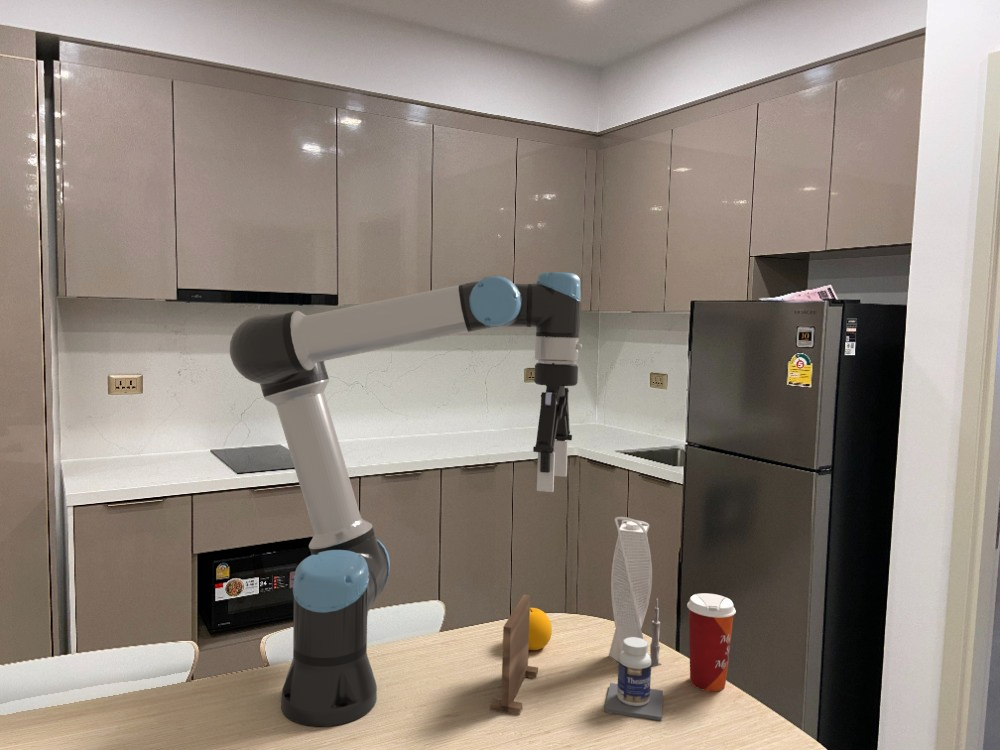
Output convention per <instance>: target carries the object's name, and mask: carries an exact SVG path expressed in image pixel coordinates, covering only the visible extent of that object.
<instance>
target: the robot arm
mask: <svg viewBox="0 0 1000 750" xmlns="http://www.w3.org/2000/svg"><path fill="white" fill-rule="evenodd" d="M581 297H582V296H581V279H580V277H579V275H577V274H575V273H574V272H573V273H571V272H561V271H559V272H558V271H555V272H554V271H551V272H550V271H549V272H548V271H547V272H540V273H539V274H538V276H537V280H536V283H528V284H526V283H513V281H511V280H510V279H508V278H507V277H504V276H499V275H493V276H487V277H484V278H482V279H480V280H477V281H472V282H468V283H464V284H456V285H452V286H448V287H447V286H446V287H442V288H437V289H432V290H428V291H422V292H417V293H414V294H413V293H411V294H408V295H403V296H396V297H392V298H387V299H382V300H378V301H377V300H376V301H372V302H367V303H364V304H363V303H362V304H358V305H354V306H353V305H352V306H349V307H343V308H337V309H334V310H328V311H324V312H318V313H313V314H308V315H306V314H304V313H303V312H301V311H299V310H296V311H291V312H285V313H277V314H257V315H254V316H252V317H249V318H247V319H246V320H244V321H242V322H241V323H240V324H239V325H238V326H237V327H236V328H235V330H234V332H233V333H232V336H231V339H230V342H229V356H230V359H231V362H232V364H233V366H234V367H235V369H236V370H237V372H238V373H239V374H240V375H241V376H243V378H244V379H247V381H250V382H252V383H257V384H258V385H260V388H261V392H262V395H263V399H264V400H266V401H268V402H269V403H271V404H273V405H274V406H275V407H276V410H277V415H278V417H279V420H280V424H281V427H282V429H283V430H282V431H283V434H284V437H285V440H286V442H287V443H286V444H287V446H288V447H287V448H288V450H289V453H290V457H291V461H292V463H293V467H294V471H295V473H296V477H297V479H298V484H299V486H300V490H301V493H302V496H303V500H304V503H305V507H306V510H307V514H308V517H309V520H310V523H311V526H312V531H313V532H314V533H313V536H312V539H311V540H310V542H309V544H308V548H309V551H310V554H311V555H309V556H307V557H305V558H304V559H303V560H301V562H300V563H299V564H298V565H297V567H296V569H295V572H294V577H293V578H294V580H293V583H292V586H293V587H292V596H293V626H292V627H293V630H292V631H293V636H292V637H293V641H292V642H293V643H292V645H293V649H292V650H293V651H292V652H293V654H292V660H291V663H290V665H289V669H288V672H287V675H286V678H285V681H284V684H283V687H282V690H281V696H280V698H281V699H280V700H281V701H280V709H281V712H282V714H283V715H284V716H285V717H286V718H287V719H289V720H291V721H293V722H294V723H298V724H301V725H305V726H312V727H328V726H331V727H332V726H336V725H337V726H338V725H343V724H345V723H346V724H347V723H350V722H352V721H353V722H354V721H355V720H358V719H360V718H361V717H362V718H363V716H365V715H366V714H368V713H370V711H372V709H374V707H375V705H376V703H377V695H378V693H377V692H378V691H377V690H378V688H377V686H378V685H377V682H376V679H375V675H374V672H373V669H372V666H371V662H370V660H369V656H368V653H367V649H368V648H367V646H368V616H369V615H368V614H369V611H370V610H371V607H372V606H373V605H374V603H375V602H376V600H377V599H378V597H379V595H381V594H382V592H383V591H384V588H385V586H386V585H387V582H388V578H389V576H390V568H391V566H390V565H391V562H390V561H391V559H390V556H389V553H388V551H387V550H388V549H386V547H385V545H384V544H383V543H382V542H381V541H380V540H379V539H377V536H376V533H375V530H374V526H373V524H372V523H371V522H368V521H367V520H365V519H363V518H362V515H361V512H360V510H359V506H358V503H357V500H356V496H355V493H354V489H353V486H352V483H351V480H350V476H349V473H348V469H347V466H346V463H345V460H344V455H343V453H342V449H341V446H340V442H339V438H338V435H337V433H336V429H335V426H334V422H333V419H332V415H331V412H330V409H329V406H328V402H327V398H326V396H325V389H326V387H327V386H328V384H329V382H330V378H329V375H328V371H327V368H326V365H325V362H326V361H331V360H335V359H339V358H345V357H350V356H354V355H359V354H364V353H369V352H374V351H379V350H384V349H390V348H395V347H399V346H404V345H410V344H414V343H419V342H425V341H428V340H435V339H440V338H444V337H449V336H454V335H459V334H460V335H461V334H464V333H470V332H475V331H481V330H486V329H491V328H497V327H502V328H503V327H508V328H509V327H510V328H511V327H515V328H519V327H521V328H535V331H536V332H535V340H534V343H535V344H534V359H535V360H536V361H537V362H536V363H535V364H534V379H533V381H534V383H535V384H536V385H540V386H546V388H545V392H544V391H541V394H540V398H541V399H540V407H539V408H540V409H539V410H540V411H539V416H538V423H537V425H538V426H537V432H536V441H535V446H533V449H532V450H533V451H532V452H534V453H537V474H536V475H537V476H536V492H537V491H538V492H545V493H546V492H547V493H554V488H555V485H554V483H555V477H564V478H565V477H567V475H568V474H567V473H568V471H567V470H568V449H569V448H568V446H569V445H568V444H569V441H573V440H572V439H573V434H571V430H570V429H571V428H570V412H569V411H570V408H569V392H570V389H569V387H574V386H576V385H577V384H578V381H579V366H578V364H576V363H575V362H577V361H578V360H579V350H582V348H583V345H582V343H579V338H580V324H581V323H580V322H581V321H580V320H581V305H582V304H581V302H582V299H581Z"/></svg>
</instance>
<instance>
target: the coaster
mask: <svg viewBox="0 0 1000 750" xmlns="http://www.w3.org/2000/svg"><path fill="white" fill-rule="evenodd" d="M617 685H618V683H613V682H610V683H609V687H608V693H607V696H606V701H605V704H604V705H605V706H604V713H609V714H615V715H620V716H621V715H622V716H627V717H628V716H629V717H634V718H641V719H648V720H655V721H661V722H662V718H663V717H662V715H663V701H664V690H662V689H655V688H650V699H649V702H648V703H647V704H645V705H642V706H631V705H627V704H625V703H623V702H621V701H620V700H619V699H618V697H617Z"/></svg>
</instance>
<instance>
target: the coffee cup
mask: <svg viewBox="0 0 1000 750" xmlns="http://www.w3.org/2000/svg"><path fill="white" fill-rule="evenodd" d="M686 607H687V608H688V621H689V622H688V625H689V627H688V632H689V634H688V635H689V638H688V639H689V641H688V642H689V643H688V644H689V647H688V648H689V679H690V683H691V685H692V686H693V687H695V688H697V689H700V690H701V691H707V692H720V691H722V690H724V689H725V687H726V682H727V674H728V667H729V656H730V650H731V640H732V632H733V631H732V630H733V622H734V615H735V614H736V608H735V606H734V603H733V601H732V600H731V599H730V598H728V597H726V596H723V595H720V594H715V593H705V592H704V593H702V592H701V593H695V594H693V595H692V596H690V598H689V601H688V602H687V604H686Z"/></svg>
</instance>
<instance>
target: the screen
mask: <svg viewBox="0 0 1000 750" xmlns="http://www.w3.org/2000/svg"><path fill="white" fill-rule="evenodd" d="M530 608H531V595H529V594H523V595H522V596H521V598H520V600H519V602H518V603H517V604H516V606H515V607H514V609H513V610H512V612H511V614H510V615H509V617H508V619H507V620H506V622H505V623H504V625H503V629H502V630H503V631H502V637H503V638H502V656H501V657H502V661H501V662H502V663H501V692H500V693H501V695H500V697H501V698H495V697H492V699H491V701H490V702H489V709H488V710H489V711H493V712H494V711H496V712H500V713H506V714H512V715H518V716H520V715H521V712H522V711H523V702H522V701H521V702H520V701H515V700H516V697H517V695H518V693H519V691H520V690H521V689H520V688H521V687H522V684H523V683H524V680H525V678H526V677H527V678H534V679H536V678H537V676H538V674H539V667H537V666H531V665H530V666H529V650H528V648H529V618H530Z"/></svg>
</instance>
